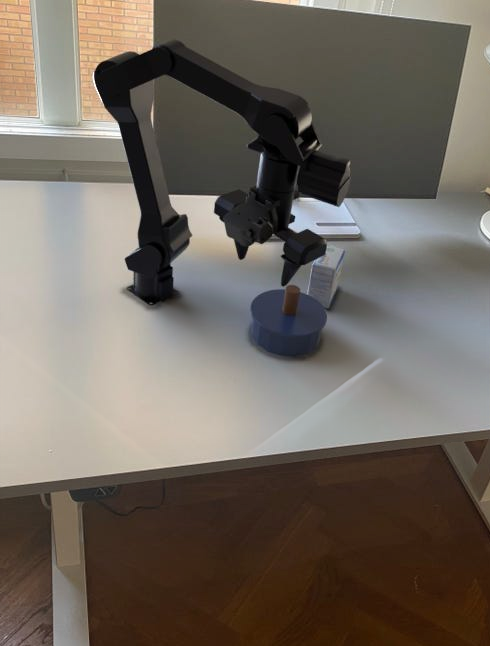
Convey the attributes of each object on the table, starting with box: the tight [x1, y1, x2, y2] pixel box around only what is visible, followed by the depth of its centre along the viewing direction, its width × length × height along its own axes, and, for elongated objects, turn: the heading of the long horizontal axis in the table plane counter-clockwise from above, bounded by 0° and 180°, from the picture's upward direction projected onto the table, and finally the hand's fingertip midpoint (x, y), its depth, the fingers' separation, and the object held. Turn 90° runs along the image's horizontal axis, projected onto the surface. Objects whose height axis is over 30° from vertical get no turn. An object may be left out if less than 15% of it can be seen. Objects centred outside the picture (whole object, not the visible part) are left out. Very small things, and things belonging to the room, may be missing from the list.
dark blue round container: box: [250, 318, 323, 357], centre depth 121 cm, size 12×12×5 cm
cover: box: [249, 284, 328, 337], centre depth 118 cm, size 13×13×6 cm
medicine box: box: [306, 244, 346, 309], centre depth 132 cm, size 8×4×9 cm, turn 169°
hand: (262, 272), depth 115 cm, fingers open, 9 cm apart
